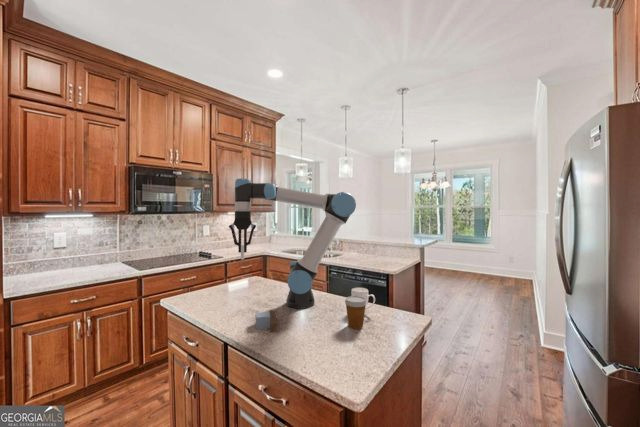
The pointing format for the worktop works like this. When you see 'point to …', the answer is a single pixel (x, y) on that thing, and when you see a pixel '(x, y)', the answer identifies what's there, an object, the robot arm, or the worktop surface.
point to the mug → (362, 294)
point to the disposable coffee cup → (355, 311)
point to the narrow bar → (273, 321)
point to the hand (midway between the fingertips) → (242, 259)
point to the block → (262, 320)
